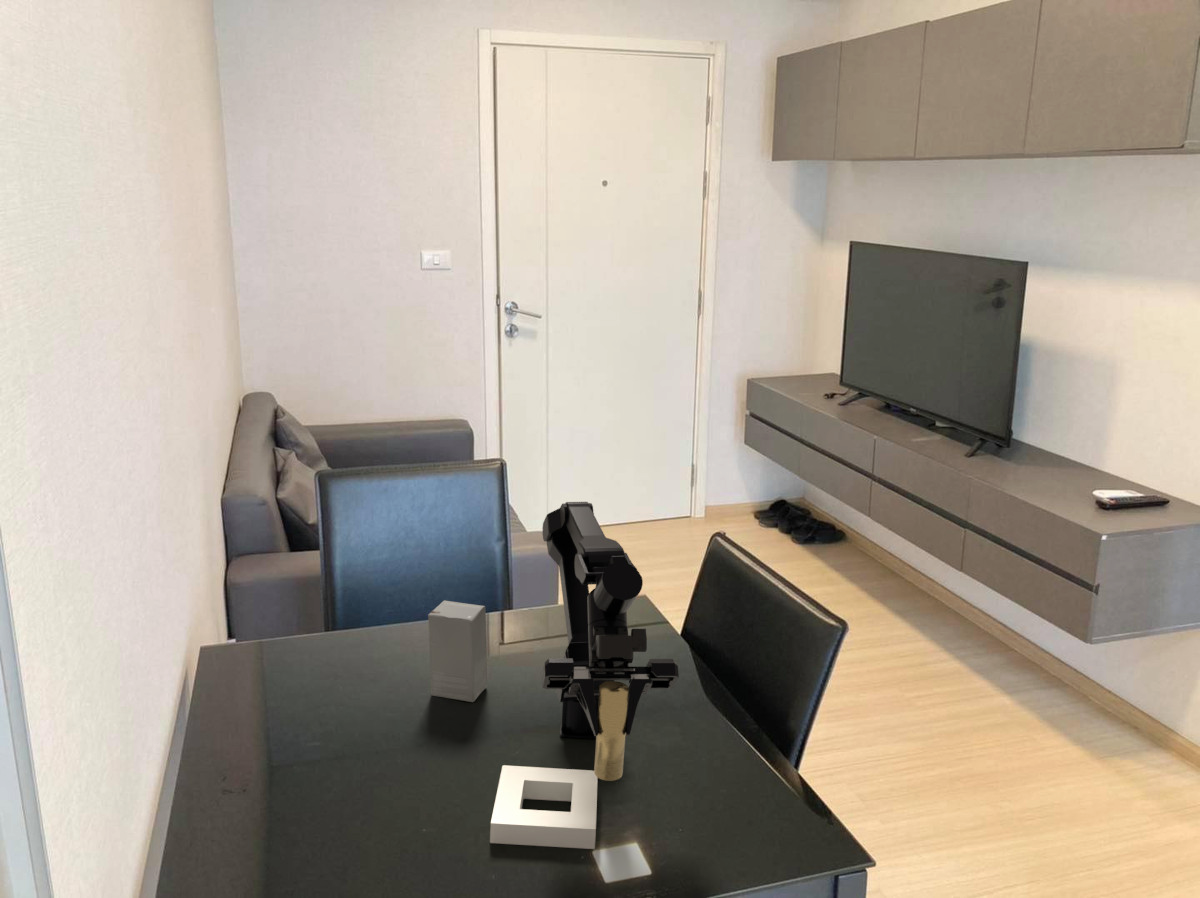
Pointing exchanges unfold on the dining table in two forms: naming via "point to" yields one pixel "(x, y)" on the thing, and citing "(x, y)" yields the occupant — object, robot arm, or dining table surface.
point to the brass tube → (611, 730)
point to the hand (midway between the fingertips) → (612, 735)
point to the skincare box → (458, 650)
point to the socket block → (538, 824)
